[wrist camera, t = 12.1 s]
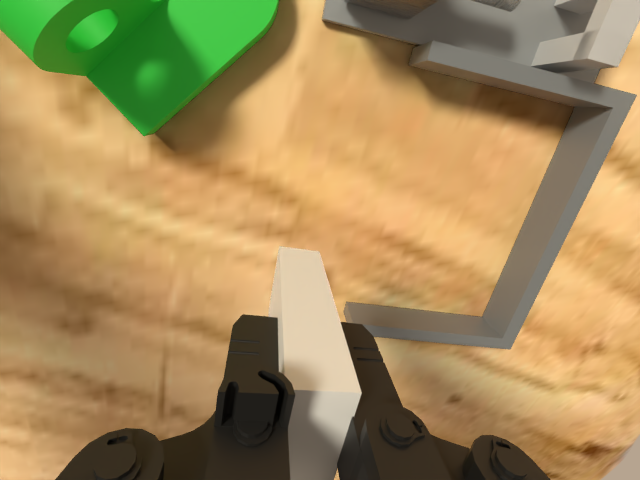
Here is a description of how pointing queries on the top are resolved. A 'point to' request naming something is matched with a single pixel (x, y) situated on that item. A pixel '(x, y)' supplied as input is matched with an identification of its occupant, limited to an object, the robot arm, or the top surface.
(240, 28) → the mechanical part
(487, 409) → the top surface
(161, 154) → the top surface
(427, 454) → the robot arm
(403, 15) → the pin
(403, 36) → the dock
